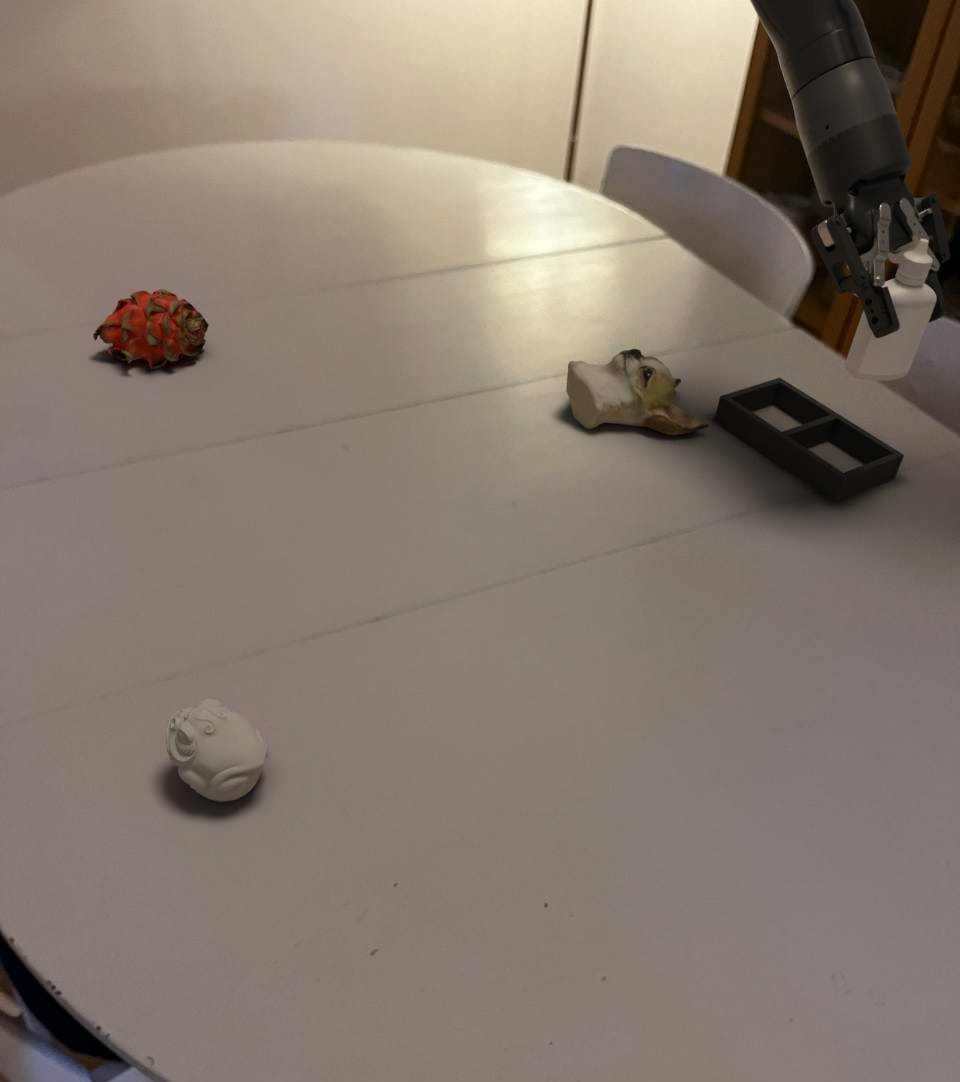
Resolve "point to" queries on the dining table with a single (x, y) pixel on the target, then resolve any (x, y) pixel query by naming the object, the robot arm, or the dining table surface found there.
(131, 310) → the dragon fruit
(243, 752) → the frog figurine
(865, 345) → the eye dropper bottle
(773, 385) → the dark grey divided tray
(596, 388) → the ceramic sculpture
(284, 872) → the dining table surface
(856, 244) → the robot arm
